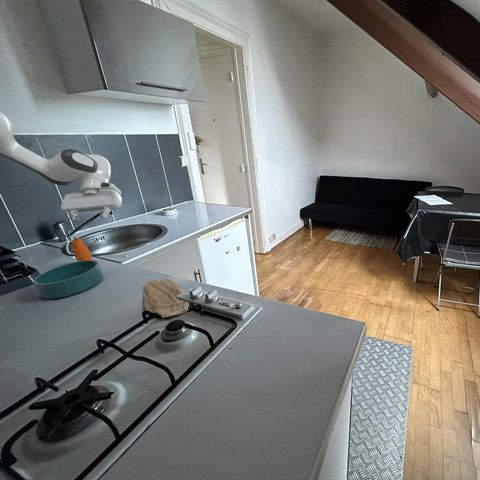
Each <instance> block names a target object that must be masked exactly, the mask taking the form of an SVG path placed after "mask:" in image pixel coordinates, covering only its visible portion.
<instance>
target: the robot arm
mask: <svg viewBox="0 0 480 480" xmlns="http://www.w3.org/2000/svg"><path fill="white" fill-rule="evenodd" d="M0 155H1V156H3V157H5V158H7V159H9V160H11V161H13V162H15V163H17V164H18V165H21V166H22V167H24V168H27V169H29V170H30V171H33V172H34V173H36V174H38V175H39V176H40V177H42V178H43V179H45V180H46V181H48V182H49V183H51V184H54V185H58V186H68V185H71V184H72V183H73V182H74V181H75V180H76V179H77V178H79V179H80V180H81V181H80V188H79V190H76V191H70V192H68V193H66V194H65V195H64V197H63V200H62V201H61V205H60V209H61V210H62V211H63V212H64V213H66V214H71V215H72V221H74V222H81V216H79V213H87V212H98V211H102V212H100V213H99V218H100V219H102V220H103V219H107V217H108V215H109V214H110V213H111V211H112V210H117V209H120V208H121V207H122V206H123V197H122V196H121V195H122V191H121V190H120V189H119V188H118V187H117V186H116V185H115V184H113V183H111V182H110V180H111V173H112V170H111V167H112V166H111V164H110V161H109V160H108V159H107V158H106V157H104V156H102V155H100V154H95V153H92V154H89V153H84V152H82V151H80V150H77V149H74V148H66V149H63V150H62V151H60V152H59V153H57V154H56V155H55V156H54V157H53V158H51V159H50V158H44V157H42V156H40V155H39V154H37V153H35V152H33V151H32V150H29V149H27V148H25V147H24V146H22V145H21V144H19V143H18V142H17V140H16V139H15V137H14V127H13V123H12V122H11V120H10V119H9V117H8V116H7V115H6V114H4V113H3V112H2V111H0Z"/></svg>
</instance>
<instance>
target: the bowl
mask: <svg viewBox="0 0 480 480" xmlns="http://www.w3.org/2000/svg"><path fill="white" fill-rule="evenodd" d="M103 278H104V273H103V270H102V269H101V266H100V264H99V262H98V260H94V259H93V260H85V261H73V262H69V263H65V264H62V265H59V266H55V267H53V268H50V269H48V270H46V271H44V272H42V273H40V274H39V275H37V276H35V278H34V279H33V282H32V283H33V285H34V287H35V288H36V290H37V292H38V293H39V295H40V297H42V298H43V299H49V300H53V299H59V298H66V297H70V296H73V295H76V294H80V293H82V292H84V291H87V290H89V289H91V288H93V287H94V286H95V285H97V284H98V283H100V282H101V281H102V280H103Z"/></svg>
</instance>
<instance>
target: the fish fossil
mask: <svg viewBox="0 0 480 480" xmlns="http://www.w3.org/2000/svg"><path fill="white" fill-rule="evenodd" d="M184 291H187V290H186V289H185V288H183V287H182V286H181V285H179V284H178V283H176V282H174V281H173V280H171V279H170V278H168V277H159V278H157V279H153V280H150V281H147V282H146V283H145V285H144V289H143V293H142V295H143V297H142V298H143V303H144V308H145V310H146V312H148V311H150V312H153V313H158V314H159V315H161V317H162V318H161V319H165V318H169V317H173V316H177V315H181V314H185V313H187V312H188V310H189V309H188V307H189V303H188V302H185V301H183V300H179V299H177V298H176V296H177V295H179V294H181V293H182V292H184ZM189 308H190V307H189ZM150 312H149V313H150Z"/></svg>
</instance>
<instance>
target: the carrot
mask: <svg viewBox="0 0 480 480" xmlns="http://www.w3.org/2000/svg"><path fill="white" fill-rule="evenodd" d="M70 243H71V245H72V247H73V248H72V249H71V251H72V252H73V254H74V257H75V259H76V262H78V261H85V260H94V259H93V256H92V254H91V252H90V250H89V246H88V245H85V243H84V241H83V239H82V238H77V236H73V239H72V240H71V241H70Z"/></svg>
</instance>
